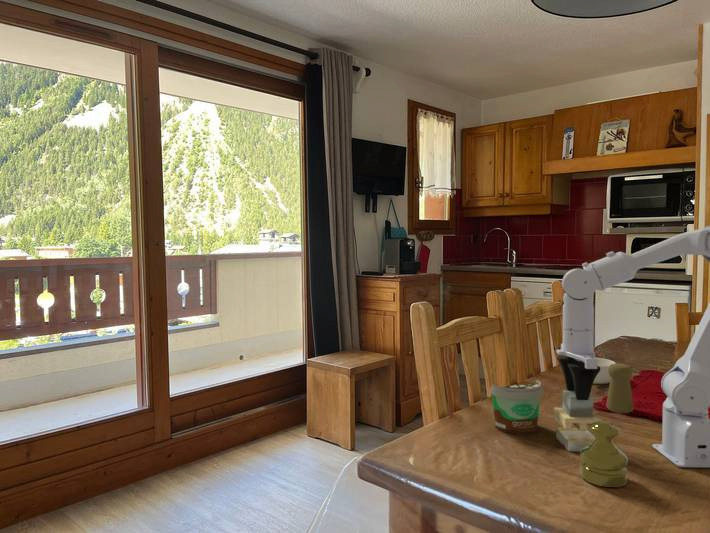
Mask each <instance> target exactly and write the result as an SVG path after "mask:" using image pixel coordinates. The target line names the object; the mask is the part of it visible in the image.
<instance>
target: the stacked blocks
mask: <svg viewBox="0 0 710 533" xmlns="http://www.w3.org/2000/svg"><path fill="white" fill-rule="evenodd" d="M561 405H562V406H561V407H558V406H557V407H556V406H554V407H553V419H554V420H555V421H556V422H557V423H558V424H559V425H560V426H561V428H564V429H565V430H572V428H573V427H572V426H574V428H578V429H579V430H580V431H586V428H588V426H589V425H590V424H592V423H594V422H598V421H603V419H601V418H600V417H599V416H598V415H597V414H596V413H594V397H593V396H592V395H591V394H590V396H589V399H588V400H577V399H576V396H575V391H567V390H563V391H562V404H561Z"/></svg>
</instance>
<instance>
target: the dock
mask: <svg viewBox="0 0 710 533" xmlns="http://www.w3.org/2000/svg"><path fill="white" fill-rule="evenodd" d="M555 429H556V434H555V436H556V439H557V440H558V442H559V443H560V444H561V445H562V444H563V445H564V446H565V447H564V446H563V445H562V446H563V447H564V448H565V450H567V452H580V451H581V449H582V448H584V447H585V446H588V445H589V444H590V443H592V442H593V441H594V440H595V436H594V435H593V434H592V433H591V432H590V431H589V430H588V427H586V431H580V430H579V429H578V428H577V427H572V430H565V429H564V428H563V427H556V428H555Z"/></svg>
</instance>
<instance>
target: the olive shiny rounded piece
mask: <svg viewBox="0 0 710 533" xmlns="http://www.w3.org/2000/svg"><path fill="white" fill-rule="evenodd" d="M587 429H588V431H589V432H590V433H591V434H592V435H593V436H594V437H595V440H594V441H593V442H592V443H590V444H589V445H588V446H585V447H584V448H582V449H581V451H579V453H580V454H579V455H580V458H581V461H580V463H579V466H580V476H581V478H582V479H583V480H584V479H585V480H584V481H586V482H587V481H589V482H591V483H593V484H592V485H594V484H597V485H601V486H607V487H619V488H622V487H624V486H626V485H627V484H626V483H628V469H627V468H626V467H627V466H628V463H629V459H628V456H627V454H625V453H624V452H623V451H622V450H620V448H619V447H618V446H616V445H615V443H613V440H614V438H616V437H618V436H619V435H620V433H621V430H620V428H619V427H618V426H616V425H614V424H612V423H610V422H609V421H607V420H602V421H598V422H594V423H592V424H590V425H589V426H588V425H587ZM589 482H588V483H589ZM591 483H590V484H591ZM621 486H622V487H621Z"/></svg>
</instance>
